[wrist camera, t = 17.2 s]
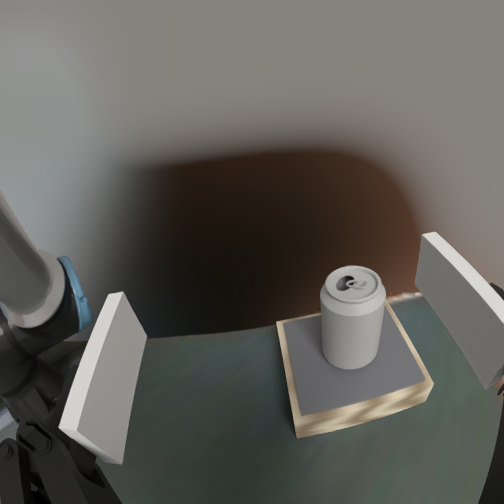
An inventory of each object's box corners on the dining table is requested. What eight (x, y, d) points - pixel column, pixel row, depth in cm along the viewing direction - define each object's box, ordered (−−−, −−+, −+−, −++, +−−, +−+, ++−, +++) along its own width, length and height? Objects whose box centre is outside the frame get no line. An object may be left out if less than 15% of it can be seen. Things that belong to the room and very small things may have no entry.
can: (339, 324, 42) (338, 255, 36) (385, 340, 37) (395, 270, 31) (312, 360, 37) (306, 291, 31) (362, 381, 32) (371, 312, 26)
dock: (296, 438, 32) (294, 423, 30) (279, 340, 48) (275, 319, 45) (425, 401, 32) (434, 382, 29) (382, 317, 47) (385, 295, 45)
